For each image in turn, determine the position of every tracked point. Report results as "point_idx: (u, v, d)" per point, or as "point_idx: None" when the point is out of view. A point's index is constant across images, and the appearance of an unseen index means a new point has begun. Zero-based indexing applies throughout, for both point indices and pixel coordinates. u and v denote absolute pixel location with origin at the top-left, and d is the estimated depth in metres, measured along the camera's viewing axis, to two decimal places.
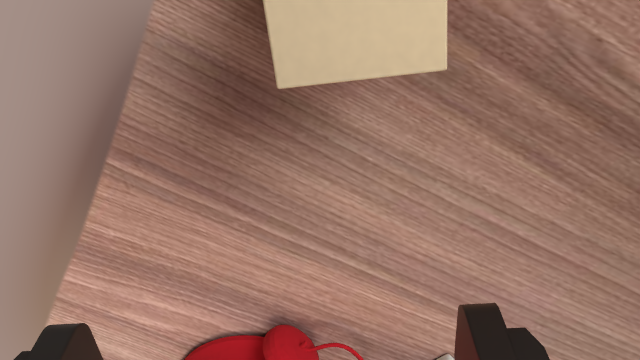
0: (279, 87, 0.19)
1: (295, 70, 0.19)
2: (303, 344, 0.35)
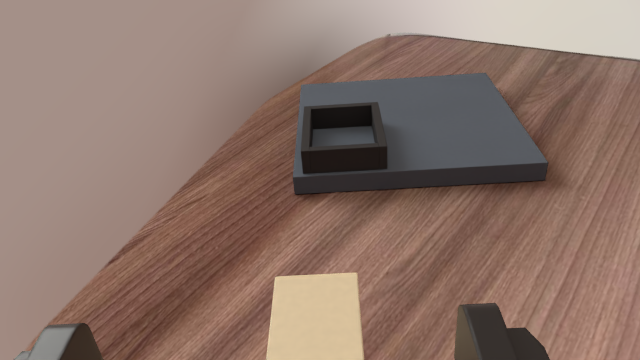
0: None
1: (349, 350, 0.25)
2: None
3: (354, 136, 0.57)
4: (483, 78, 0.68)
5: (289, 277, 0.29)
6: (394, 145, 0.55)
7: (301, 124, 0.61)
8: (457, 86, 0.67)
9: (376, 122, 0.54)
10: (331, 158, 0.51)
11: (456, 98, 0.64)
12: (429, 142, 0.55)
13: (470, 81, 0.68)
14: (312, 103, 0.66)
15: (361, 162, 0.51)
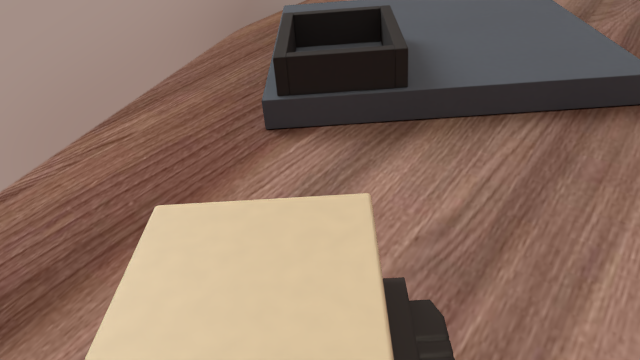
0: None
1: None
2: None
3: None
4: None
5: (190, 207, 0.11)
6: (415, 60, 0.37)
7: None
8: (496, 0, 0.49)
9: (389, 24, 0.36)
10: (321, 69, 0.33)
11: (498, 11, 0.46)
12: (468, 55, 0.37)
13: None
14: None
15: (367, 76, 0.33)
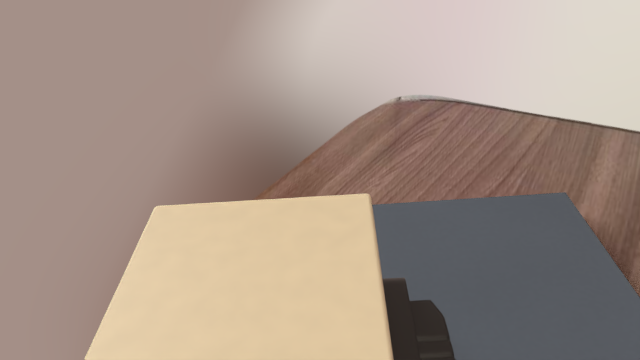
0: None
1: None
2: None
3: None
4: (565, 206, 0.41)
5: (190, 207, 0.11)
6: None
7: None
8: (524, 225, 0.40)
9: None
10: None
11: (529, 258, 0.37)
12: None
13: (544, 214, 0.41)
14: None
15: None
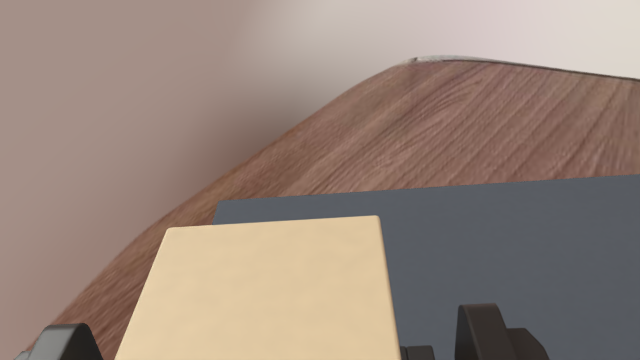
0: None
1: None
2: None
3: None
4: None
5: (202, 230, 0.11)
6: None
7: None
8: (629, 221, 0.24)
9: None
10: None
11: None
12: None
13: None
14: None
15: None
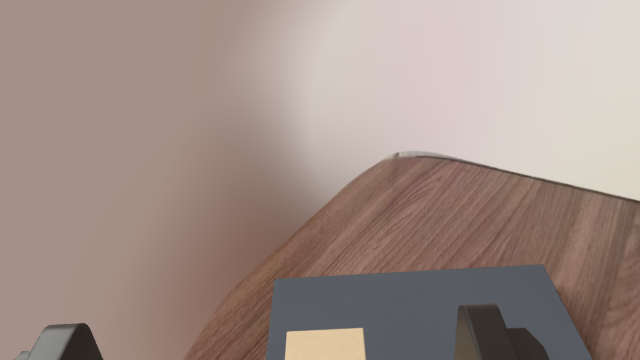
0: None
1: None
2: None
3: None
4: (541, 279, 0.46)
5: (300, 333, 0.31)
6: None
7: None
8: (504, 298, 0.45)
9: None
10: None
11: None
12: None
13: (522, 286, 0.46)
14: (288, 330, 0.44)
15: None
